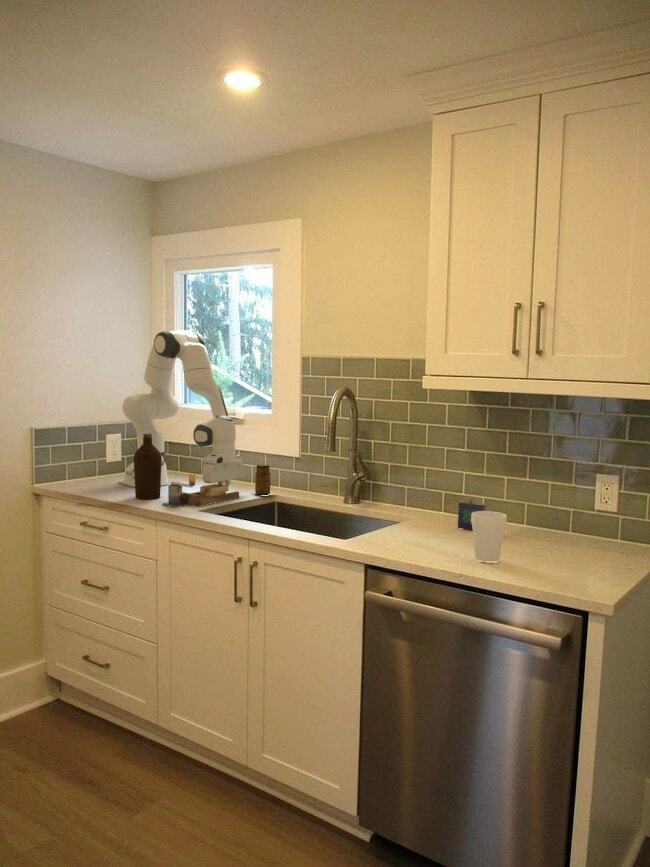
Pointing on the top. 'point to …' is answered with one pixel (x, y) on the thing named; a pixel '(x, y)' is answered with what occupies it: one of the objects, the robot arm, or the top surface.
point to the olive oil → (147, 470)
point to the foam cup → (488, 534)
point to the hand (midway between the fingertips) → (224, 491)
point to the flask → (468, 512)
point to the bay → (206, 498)
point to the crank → (191, 483)
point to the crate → (212, 490)
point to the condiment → (262, 480)
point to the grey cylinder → (175, 496)
